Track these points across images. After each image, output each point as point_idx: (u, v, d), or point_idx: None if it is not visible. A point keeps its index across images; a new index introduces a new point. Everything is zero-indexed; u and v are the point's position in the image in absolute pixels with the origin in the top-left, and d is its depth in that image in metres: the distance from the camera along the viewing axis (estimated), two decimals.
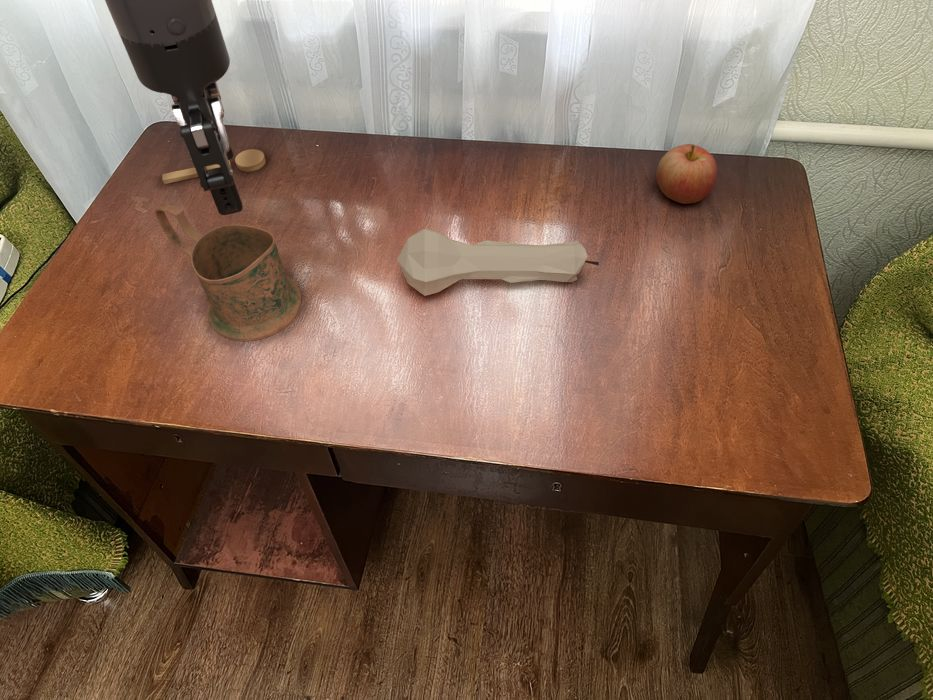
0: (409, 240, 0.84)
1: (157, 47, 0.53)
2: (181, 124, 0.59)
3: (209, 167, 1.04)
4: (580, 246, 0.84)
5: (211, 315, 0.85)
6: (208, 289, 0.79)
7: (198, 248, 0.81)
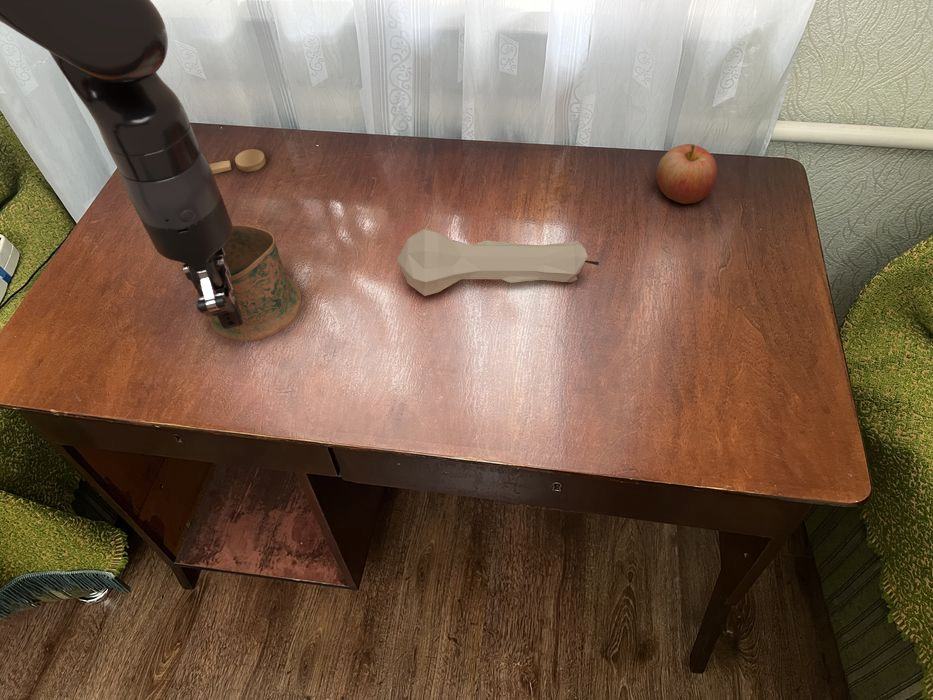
0: (409, 240, 0.84)
1: (171, 231, 0.62)
2: (192, 280, 0.70)
3: None
4: (580, 246, 0.84)
5: None
6: None
7: None
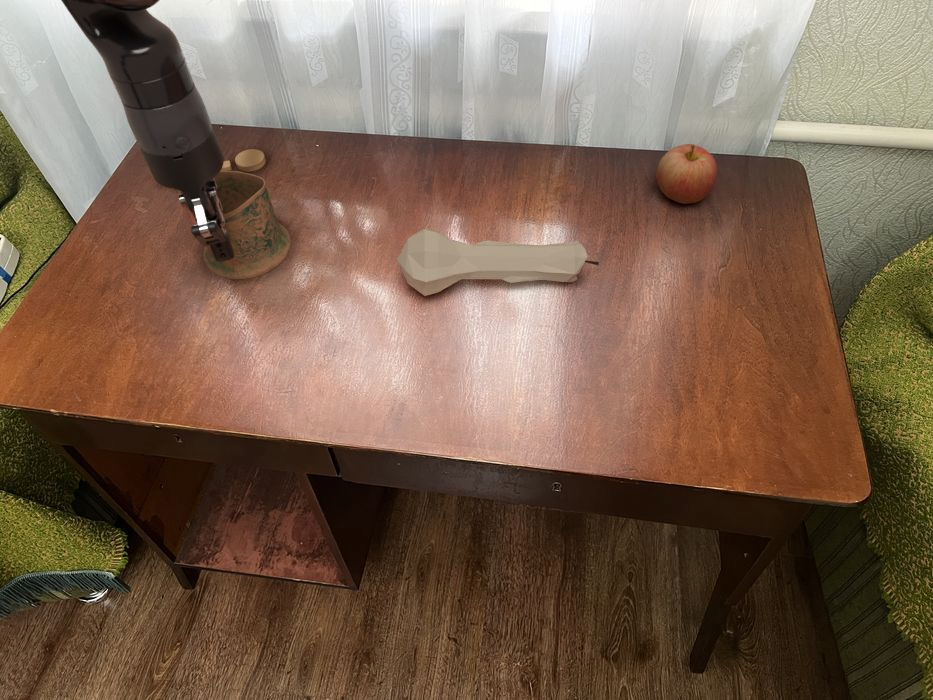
0: (409, 240, 0.84)
1: (167, 157, 0.69)
2: (187, 210, 0.76)
3: None
4: (580, 246, 0.84)
5: (207, 256, 0.91)
6: None
7: None
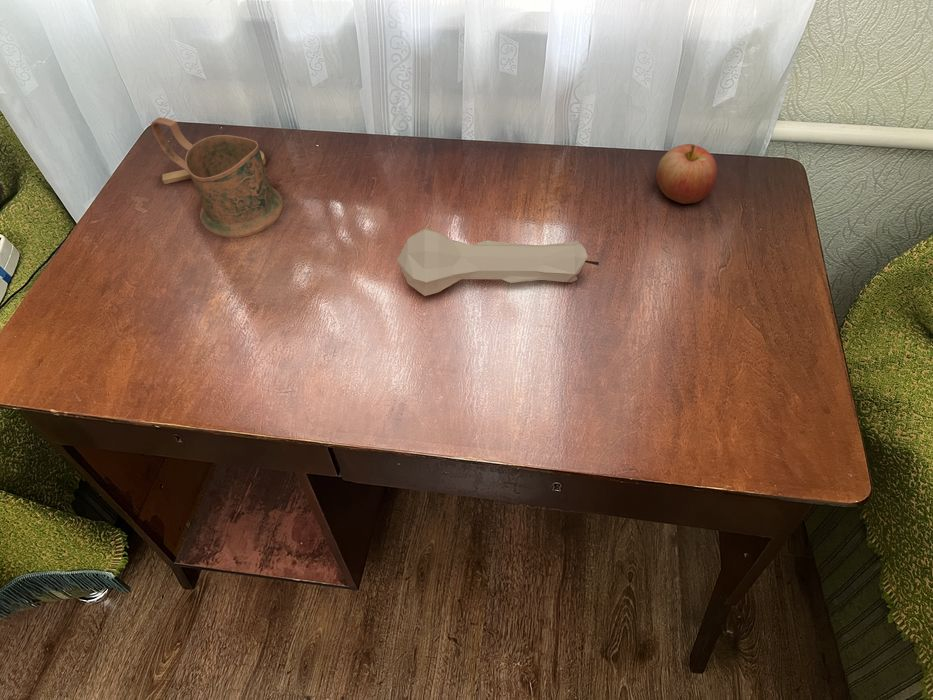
0: (409, 240, 0.84)
1: None
2: None
3: None
4: (580, 246, 0.84)
5: (204, 217, 0.96)
6: (201, 188, 0.91)
7: (191, 155, 0.93)
